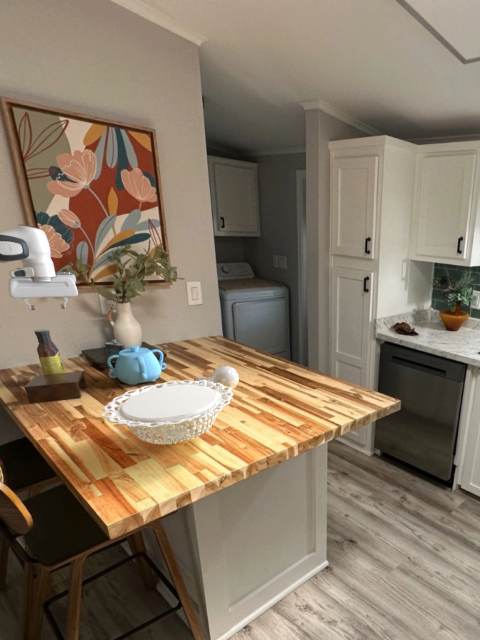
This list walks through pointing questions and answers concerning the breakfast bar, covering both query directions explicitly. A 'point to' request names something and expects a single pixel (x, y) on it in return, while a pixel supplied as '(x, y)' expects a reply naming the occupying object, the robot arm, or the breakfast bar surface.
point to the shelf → (55, 387)
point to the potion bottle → (223, 377)
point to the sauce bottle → (48, 353)
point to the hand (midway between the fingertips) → (48, 309)
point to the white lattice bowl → (169, 410)
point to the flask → (114, 348)
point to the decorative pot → (136, 365)
